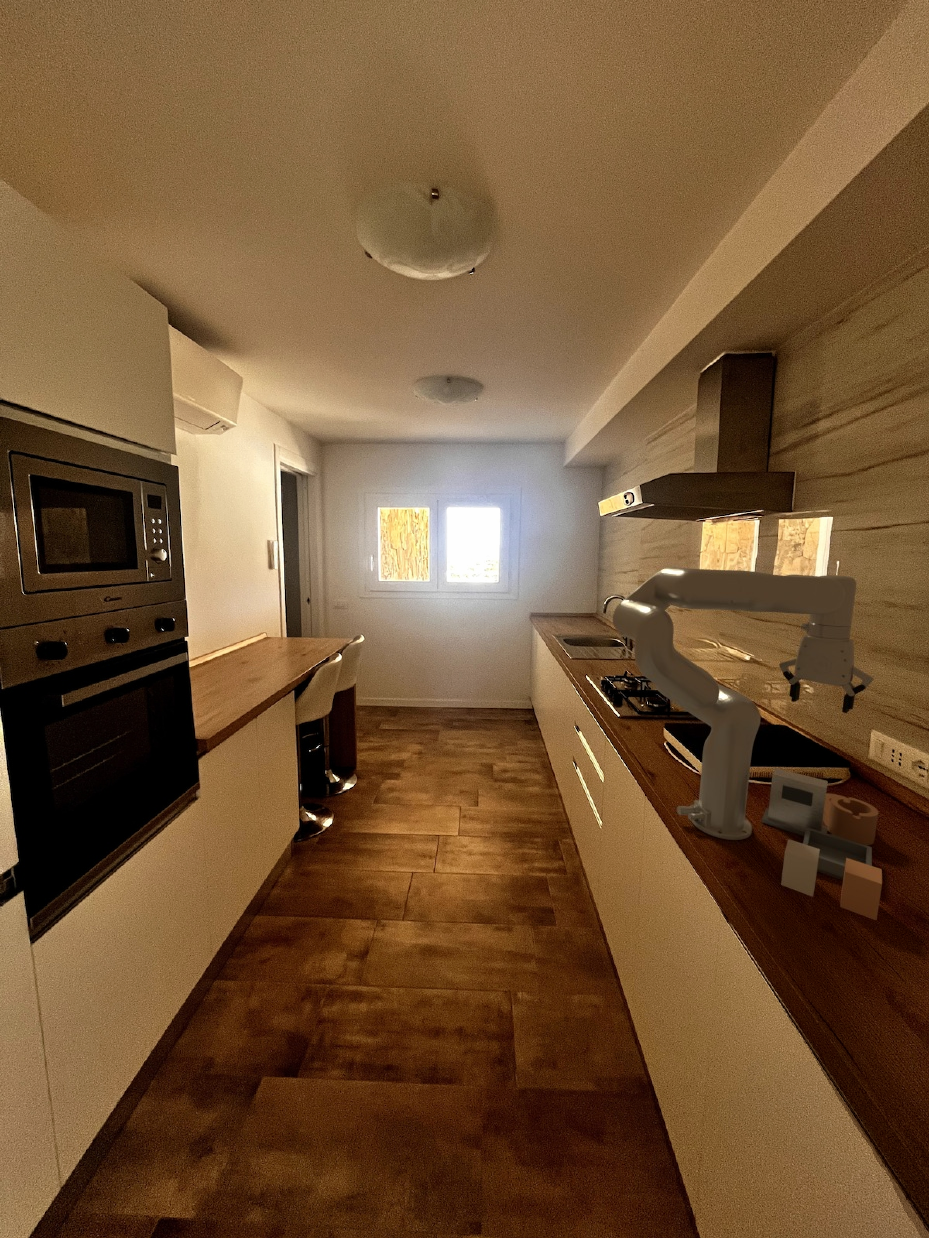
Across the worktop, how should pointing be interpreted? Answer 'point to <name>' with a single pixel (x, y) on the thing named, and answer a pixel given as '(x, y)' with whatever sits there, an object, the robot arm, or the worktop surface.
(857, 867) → the terracotta block
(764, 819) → the mounted unit
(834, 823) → the bracket
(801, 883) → the cream block
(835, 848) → the tray
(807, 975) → the worktop surface
